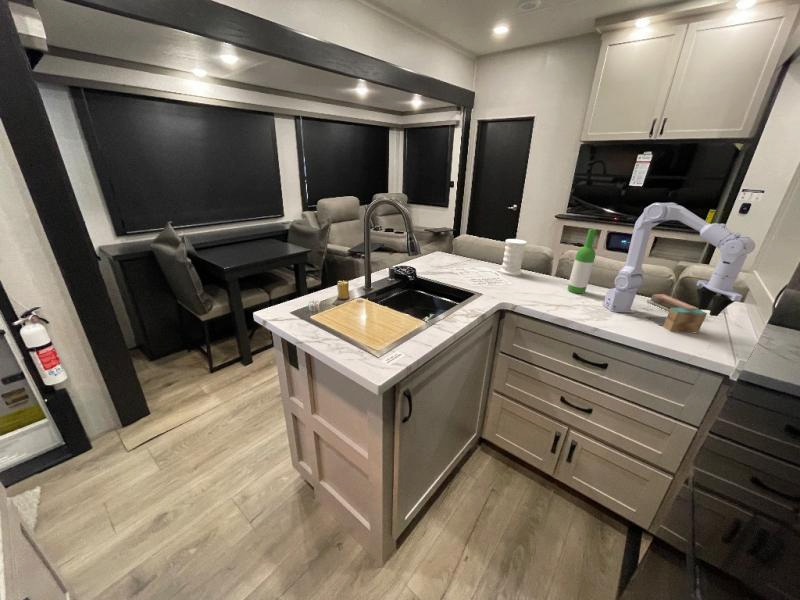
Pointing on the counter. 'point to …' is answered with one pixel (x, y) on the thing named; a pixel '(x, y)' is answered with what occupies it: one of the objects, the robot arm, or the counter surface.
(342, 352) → the counter surface
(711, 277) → the robot arm
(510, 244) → the decorative container
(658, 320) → the rubber mat
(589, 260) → the wine bottle
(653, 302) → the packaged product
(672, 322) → the brown box
